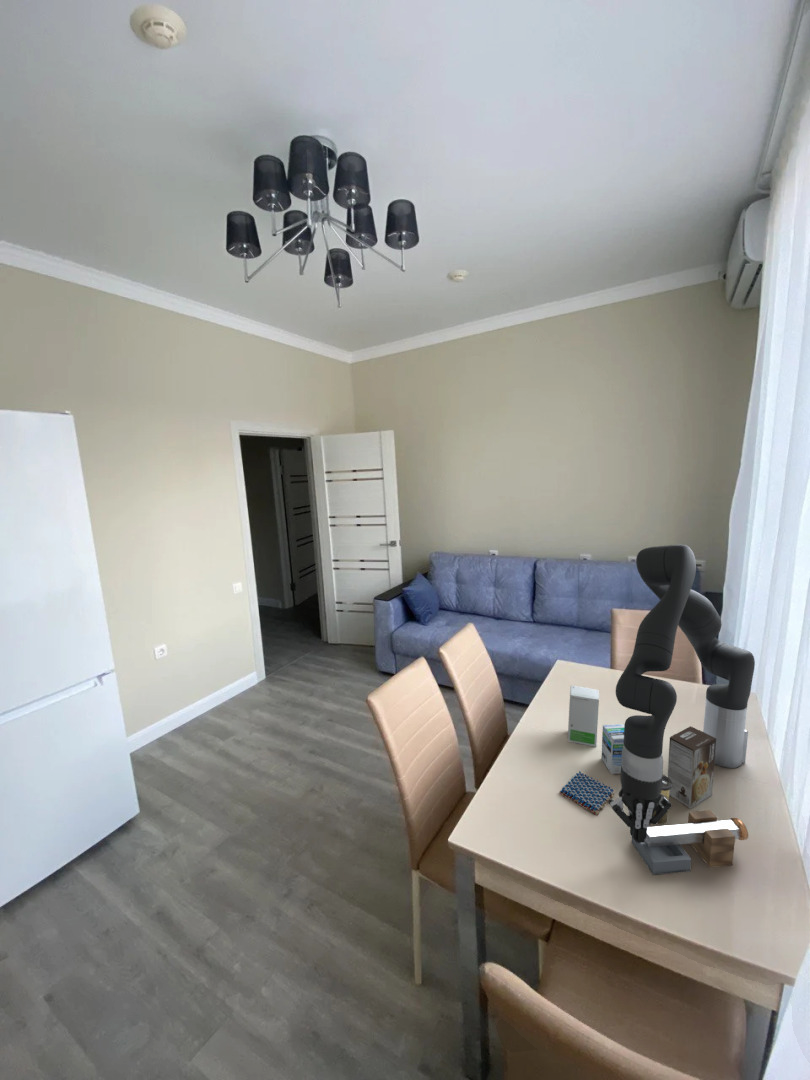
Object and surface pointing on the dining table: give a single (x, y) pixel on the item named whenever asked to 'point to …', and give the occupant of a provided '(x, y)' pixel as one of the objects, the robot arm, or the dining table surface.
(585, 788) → the woven mat
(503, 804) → the dining table surface
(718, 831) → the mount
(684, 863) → the box
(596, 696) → the skincare box
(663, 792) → the yellow glass jar
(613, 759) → the light bulb box
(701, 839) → the pin
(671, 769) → the coffee box
